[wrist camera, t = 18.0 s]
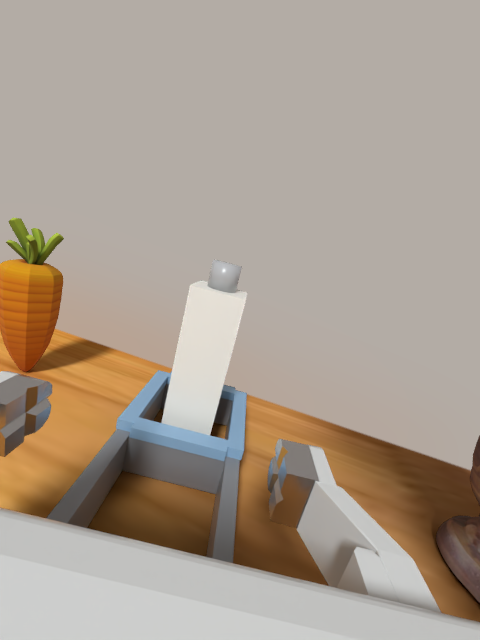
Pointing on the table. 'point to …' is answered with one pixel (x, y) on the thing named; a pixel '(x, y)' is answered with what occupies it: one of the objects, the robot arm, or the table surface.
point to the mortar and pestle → (464, 538)
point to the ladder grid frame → (167, 461)
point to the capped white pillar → (204, 349)
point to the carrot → (29, 296)
